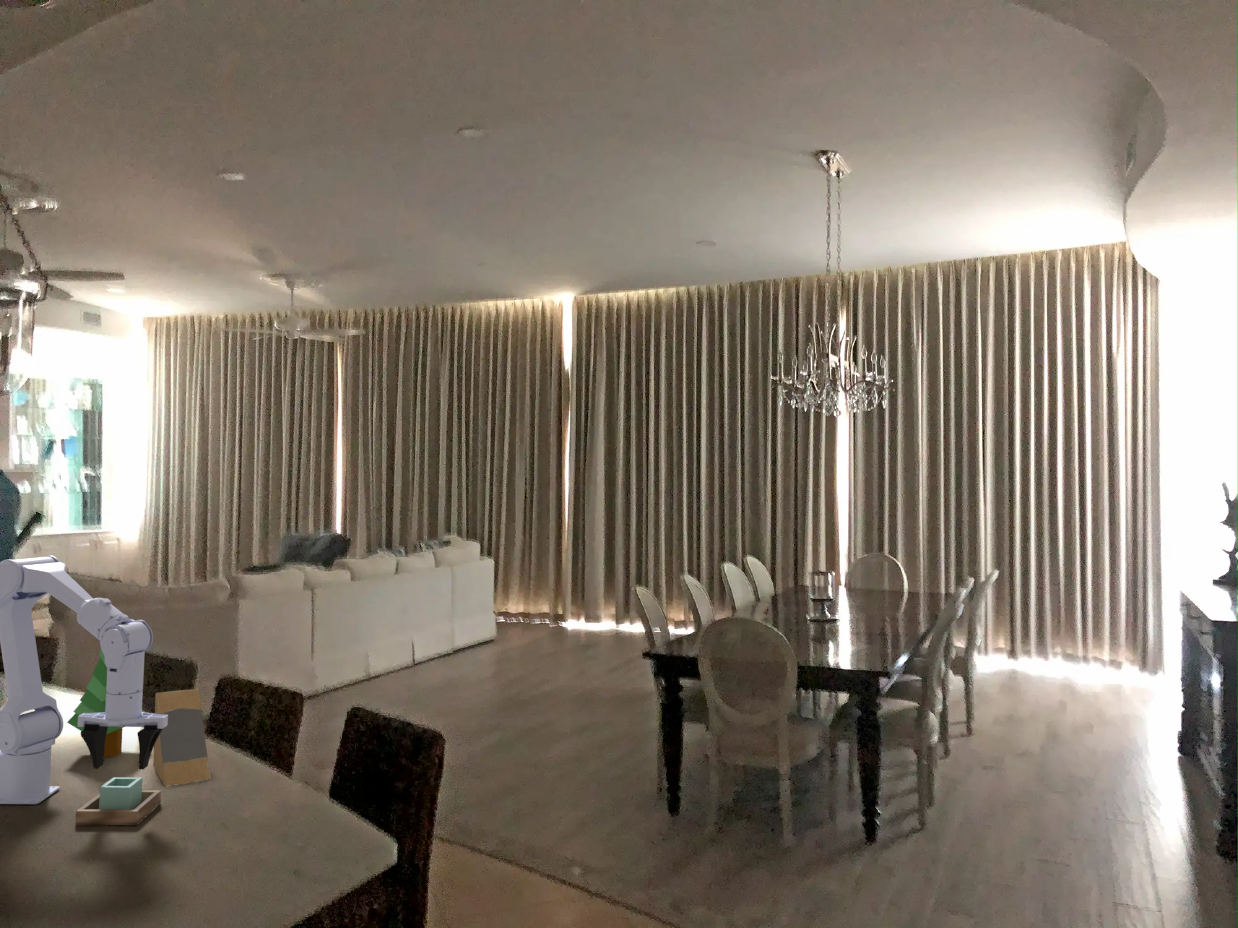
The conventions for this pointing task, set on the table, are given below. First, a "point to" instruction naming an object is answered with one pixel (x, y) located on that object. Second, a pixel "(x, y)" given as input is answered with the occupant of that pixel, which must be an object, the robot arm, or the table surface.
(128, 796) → the box
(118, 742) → the decorative tree
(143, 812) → the walnut crate
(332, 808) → the table surface
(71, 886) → the table surface
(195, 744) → the sandwich container
